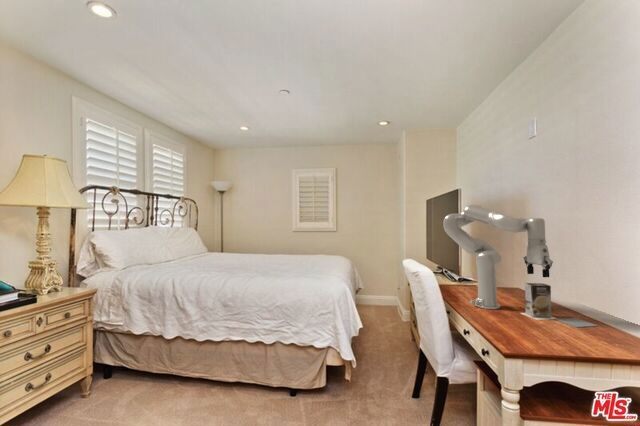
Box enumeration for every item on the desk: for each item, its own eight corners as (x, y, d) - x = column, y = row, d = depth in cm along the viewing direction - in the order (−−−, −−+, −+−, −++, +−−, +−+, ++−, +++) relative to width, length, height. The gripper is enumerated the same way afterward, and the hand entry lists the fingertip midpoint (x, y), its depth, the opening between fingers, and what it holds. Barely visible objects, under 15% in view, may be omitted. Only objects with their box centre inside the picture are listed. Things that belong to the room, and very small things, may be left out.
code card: (537, 320, 152) (537, 319, 152) (520, 313, 163) (520, 312, 163) (557, 319, 153) (557, 318, 153) (539, 312, 164) (539, 311, 164)
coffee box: (532, 317, 155) (531, 285, 156) (525, 313, 162) (524, 282, 162) (551, 317, 154) (551, 285, 155) (543, 313, 161) (543, 283, 161)
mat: (576, 327, 141) (576, 326, 141) (555, 319, 152) (555, 319, 152) (597, 326, 142) (597, 325, 142) (575, 318, 153) (575, 317, 153)
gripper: (557, 243, 151) (559, 278, 150) (530, 240, 168) (531, 272, 167) (544, 243, 150) (545, 278, 149) (517, 241, 167) (518, 273, 166)
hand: (538, 275), depth 158 cm, fingers open, 9 cm apart
